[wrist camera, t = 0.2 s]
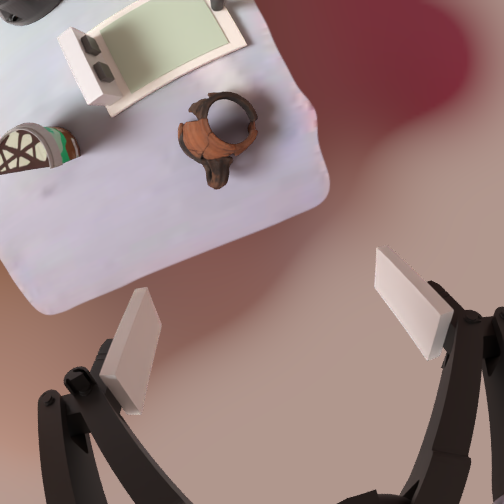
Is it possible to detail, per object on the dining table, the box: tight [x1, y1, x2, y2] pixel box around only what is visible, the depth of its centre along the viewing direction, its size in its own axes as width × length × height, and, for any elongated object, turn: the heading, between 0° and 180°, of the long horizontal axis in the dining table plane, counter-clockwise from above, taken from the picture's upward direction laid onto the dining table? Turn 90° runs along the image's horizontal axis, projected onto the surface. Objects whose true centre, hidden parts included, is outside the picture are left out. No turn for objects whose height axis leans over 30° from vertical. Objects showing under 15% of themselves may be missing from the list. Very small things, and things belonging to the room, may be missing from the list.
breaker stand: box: [57, 0, 247, 117], centre depth 27 cm, size 14×20×8 cm
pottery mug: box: [178, 92, 258, 189], centre depth 35 cm, size 12×9×8 cm
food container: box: [0, 123, 81, 175], centre depth 30 cm, size 12×6×10 cm, turn 88°
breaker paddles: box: [80, 35, 115, 83], centre depth 26 cm, size 7×1×3 cm, turn 25°
